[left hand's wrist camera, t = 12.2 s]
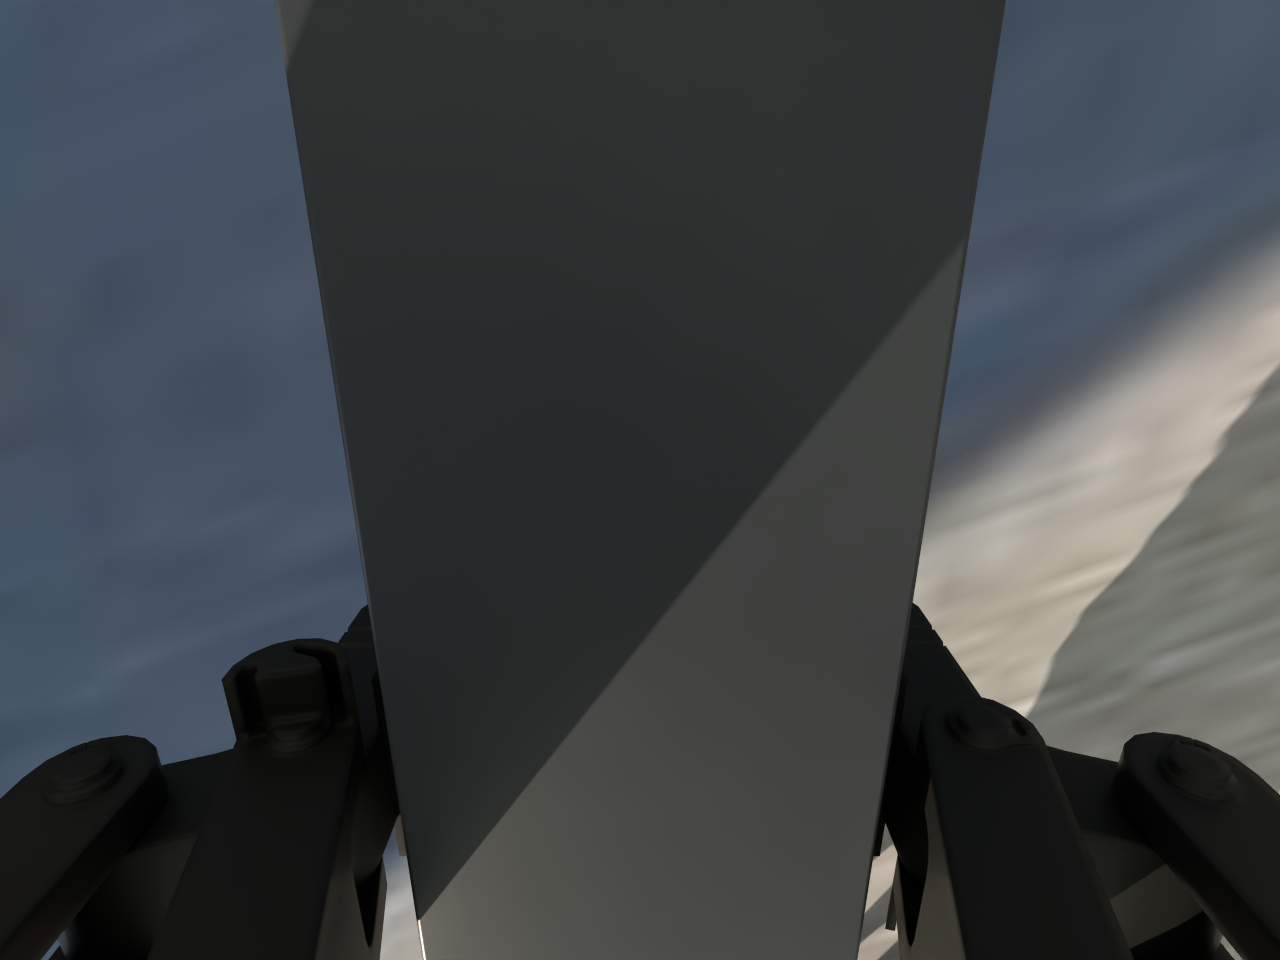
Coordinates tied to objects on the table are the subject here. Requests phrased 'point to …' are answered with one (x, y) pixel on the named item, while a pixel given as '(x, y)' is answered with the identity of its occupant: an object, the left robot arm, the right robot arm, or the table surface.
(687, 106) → the beam
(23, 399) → the table surface
